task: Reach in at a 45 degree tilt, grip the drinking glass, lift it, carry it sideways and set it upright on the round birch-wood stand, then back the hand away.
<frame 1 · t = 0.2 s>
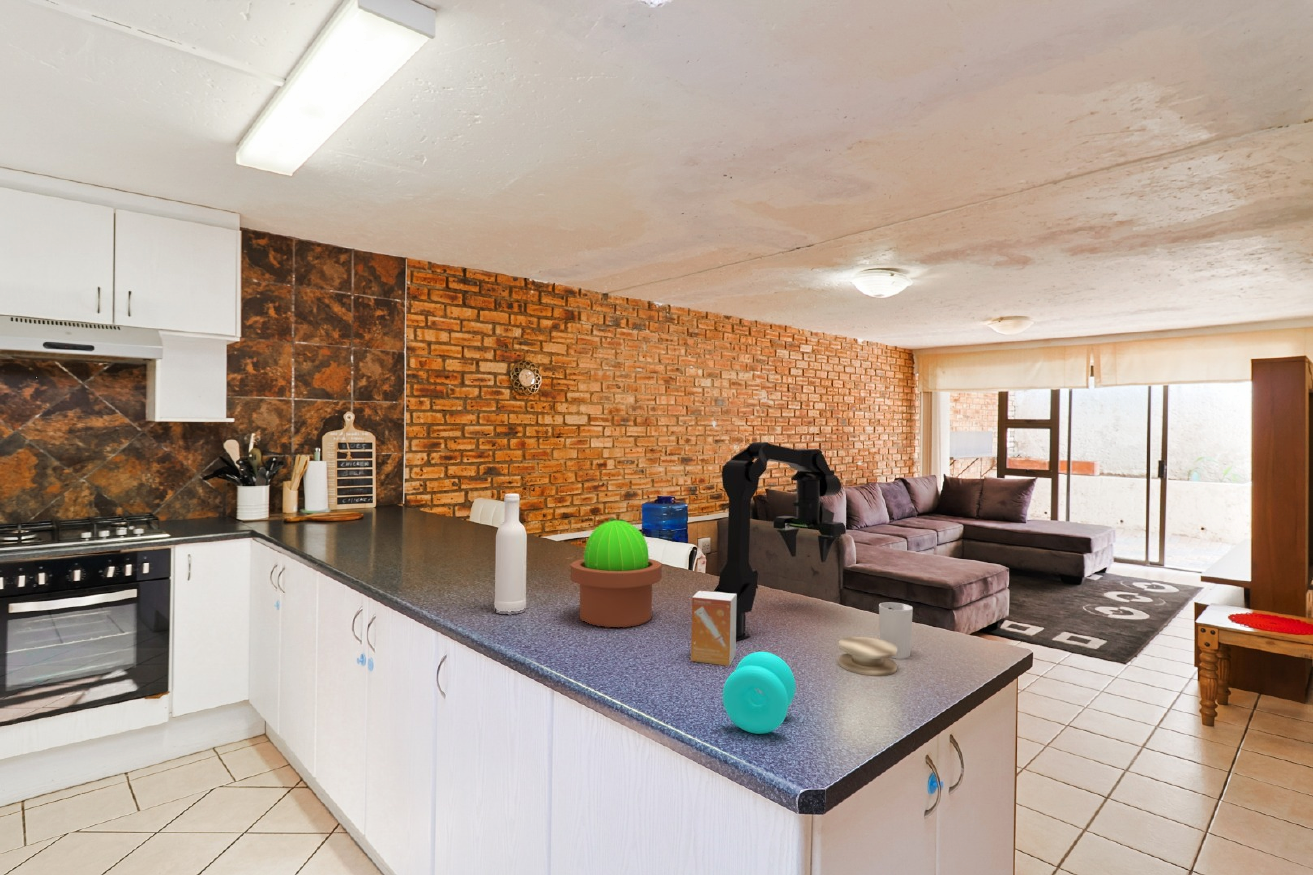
hand: (808, 559, 163), 14 cm above the worktop, tool pointing down, fingers open, 9 cm apart
potted cactus: (615, 619, 159), on the worktop
turquoise yoyo: (759, 724, 100), on the worktop
bottle: (510, 612, 164), on the worktop
small box: (713, 660, 130), on the worktop
birch stand: (867, 665, 127), on the worktop
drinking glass: (895, 655, 134), on the worktop
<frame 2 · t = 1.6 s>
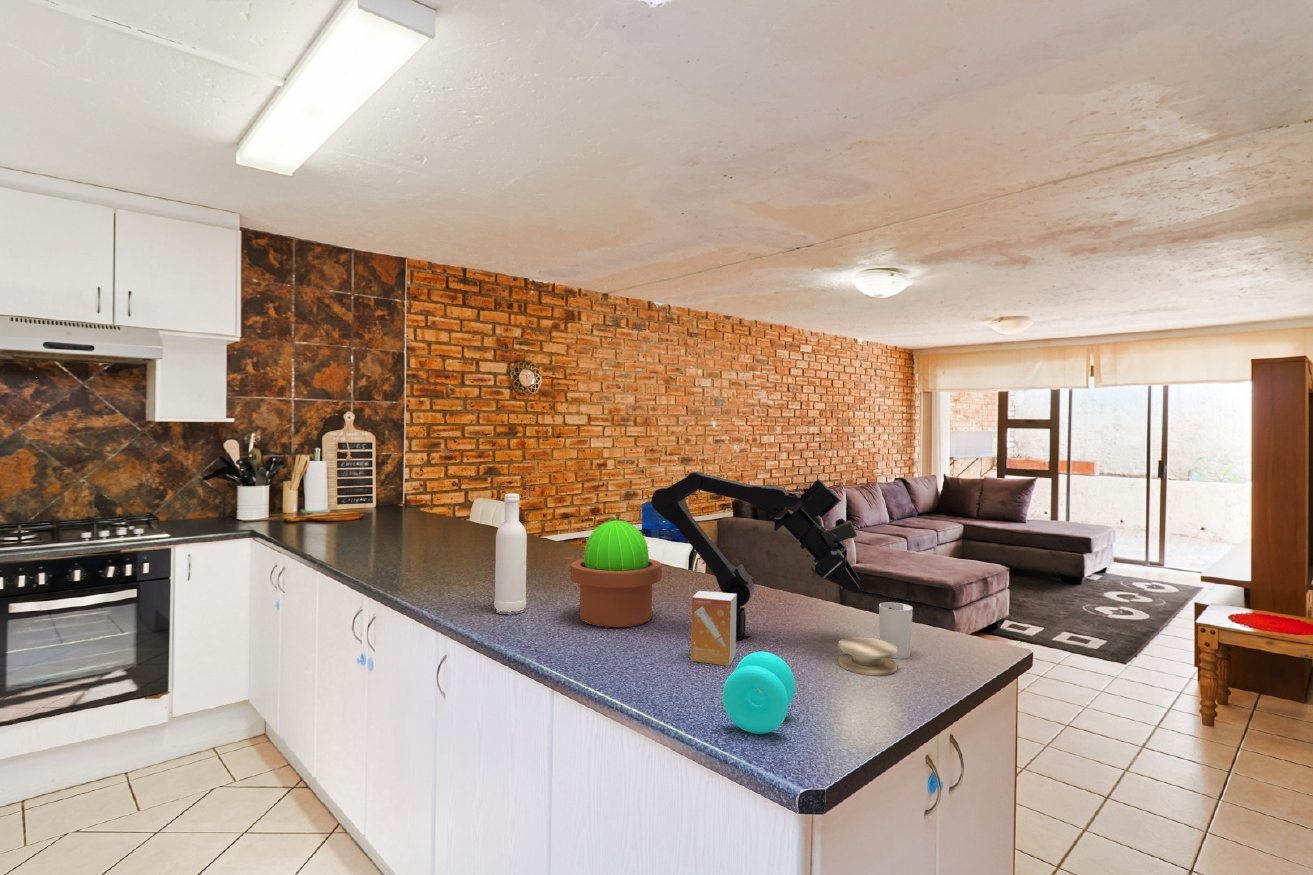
hand: (859, 586, 137), 13 cm above the worktop, tool tilted 45°, fingers open, 9 cm apart
nothing on the worktop moved.
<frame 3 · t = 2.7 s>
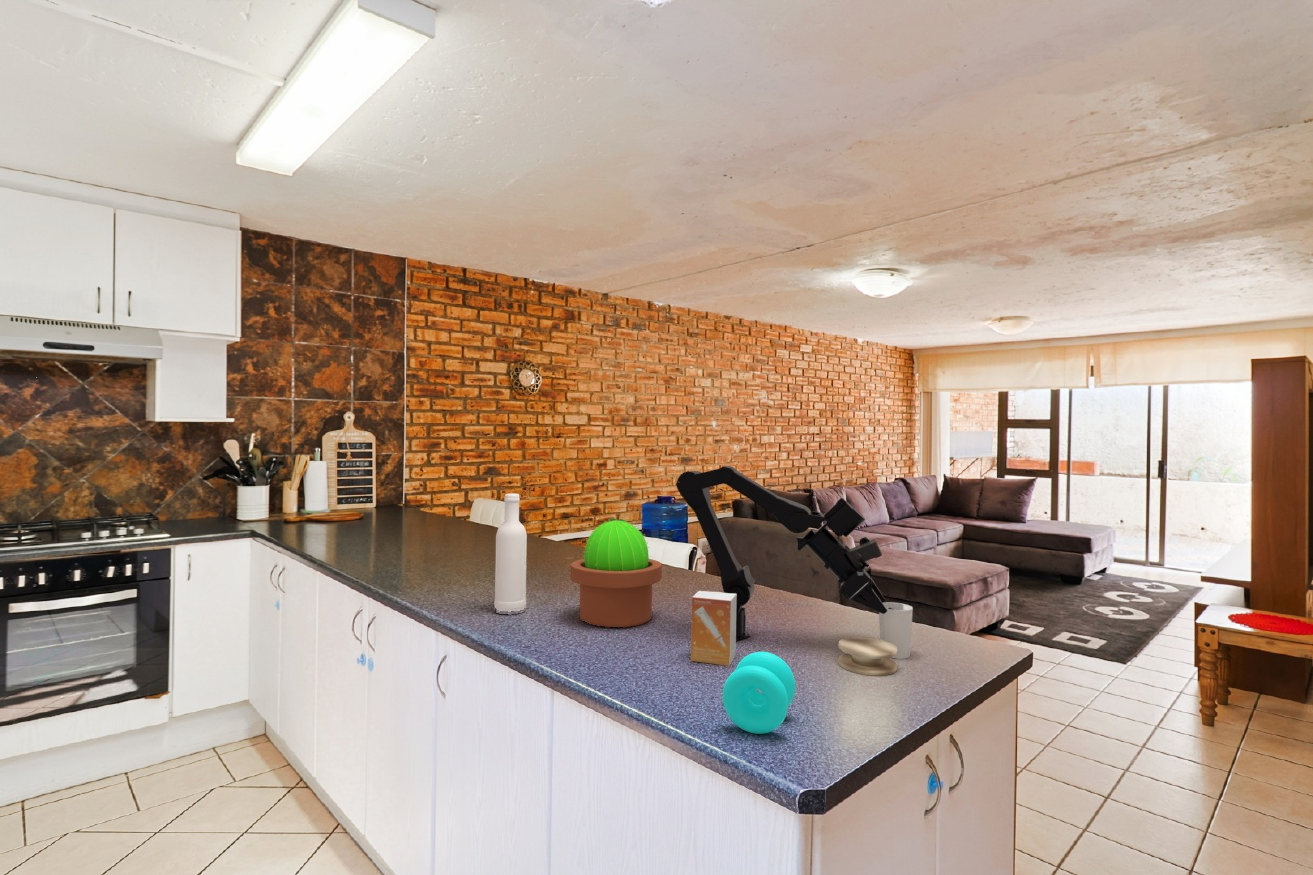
hand: (884, 606, 135), 10 cm above the worktop, tool tilted 45°, fingers open, 9 cm apart
nothing on the worktop moved.
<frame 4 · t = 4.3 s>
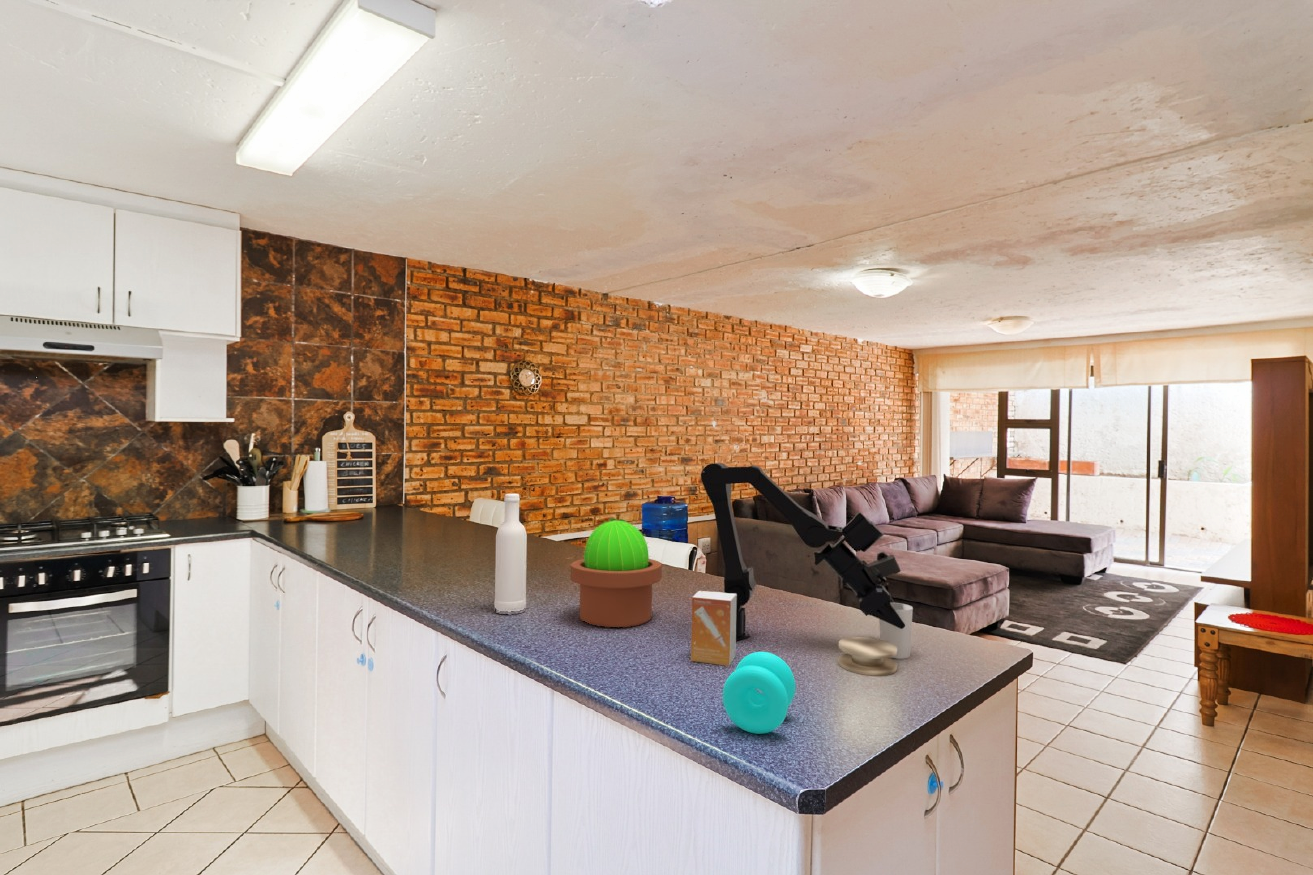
hand: (902, 623, 134), 7 cm above the worktop, tool tilted 45°, fingers closed on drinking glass, 6 cm apart
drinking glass: (895, 654, 134), on the worktop, touching gripper
everything else where it was.
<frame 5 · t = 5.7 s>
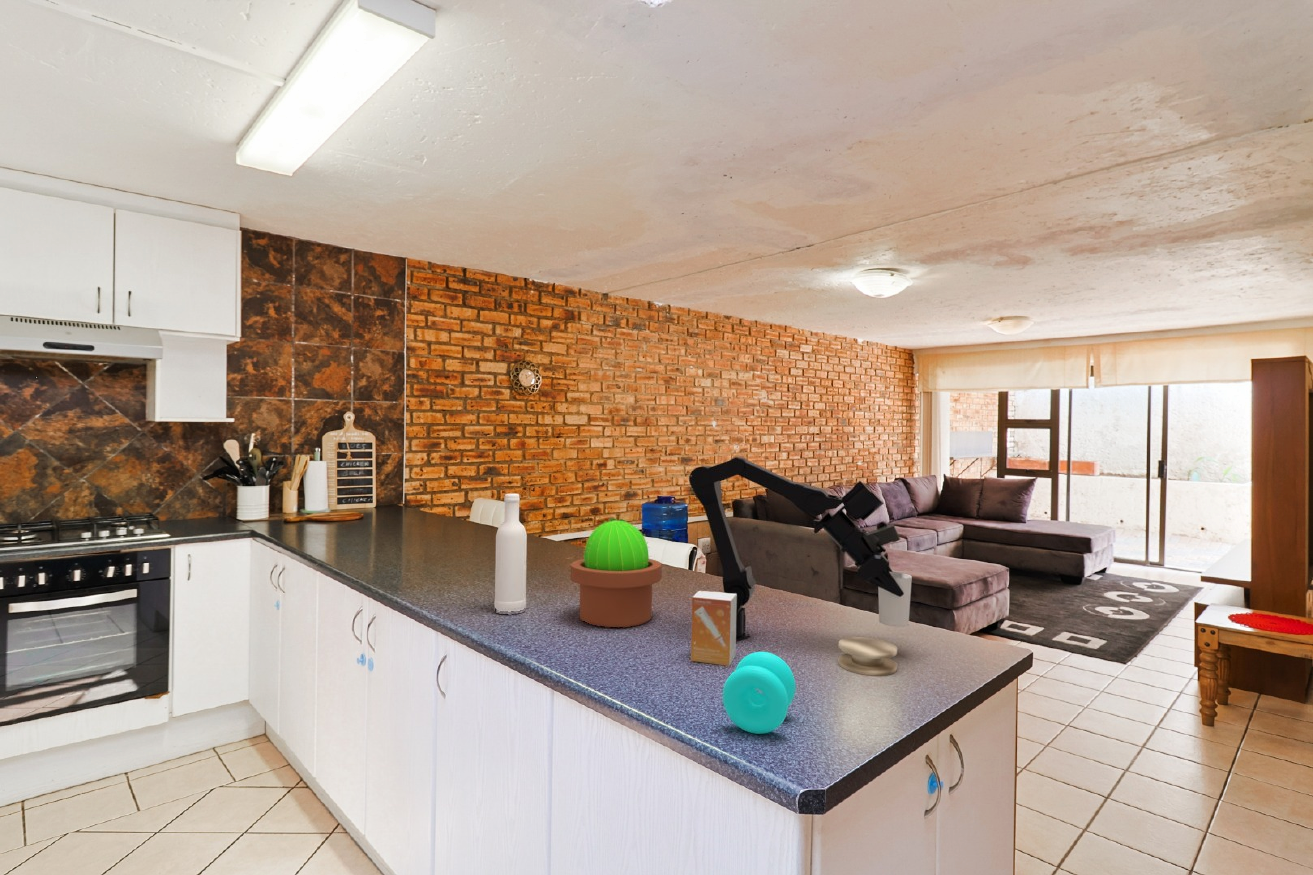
hand: (901, 591, 134), 13 cm above the worktop, tool tilted 45°, fingers closed on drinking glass, 6 cm apart
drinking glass: (893, 623, 134), point 6 cm above the worktop, touching gripper
everything else where it was.
when the fingers open (12 cm above the worktop, at t = 7.4 s): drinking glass drops 1 cm, resting on birch stand.
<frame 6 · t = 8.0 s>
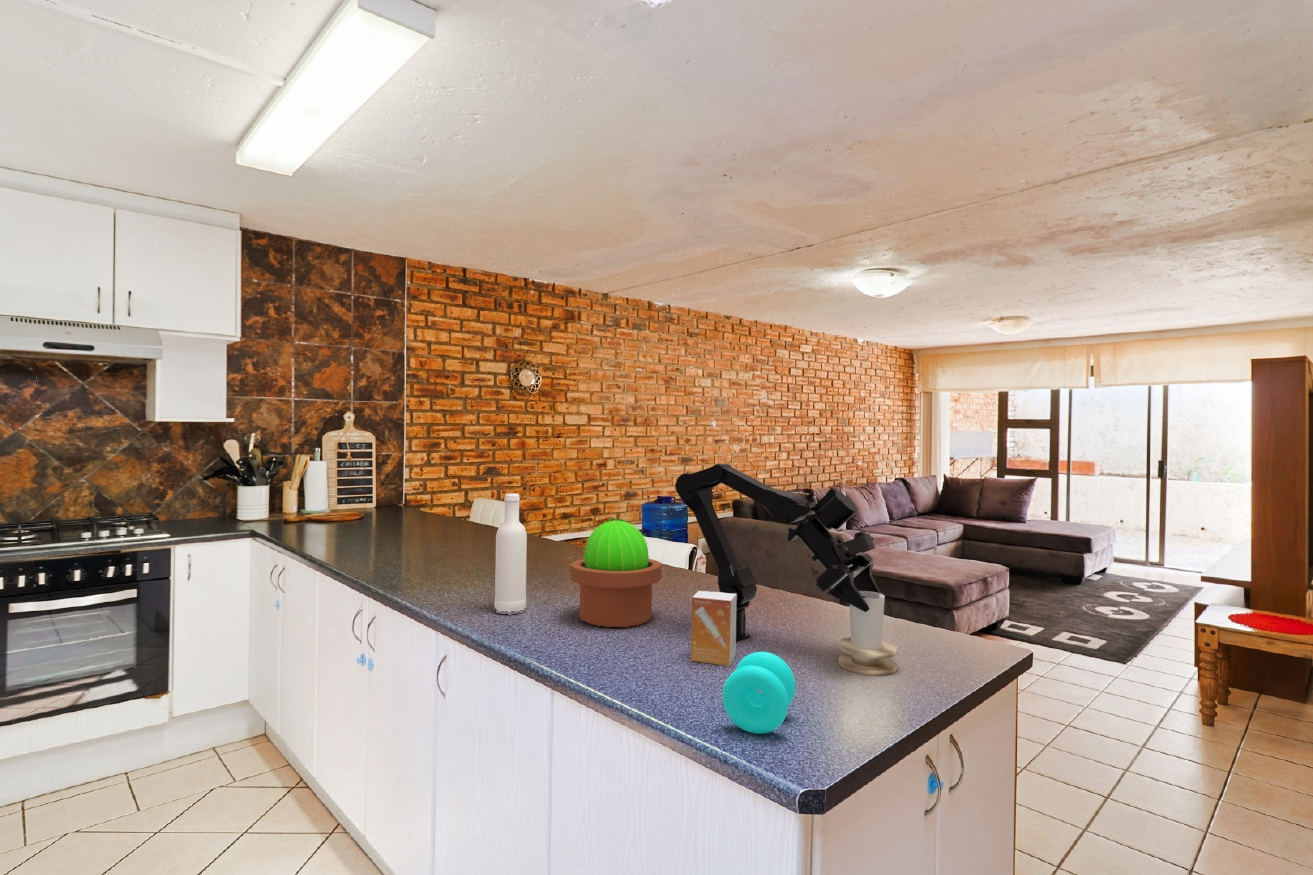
hand: (875, 605, 126), 12 cm above the worktop, tool tilted 45°, fingers open, 9 cm apart
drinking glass: (866, 646, 127), point 4 cm above the worktop, touching birch stand
everything else where it was.
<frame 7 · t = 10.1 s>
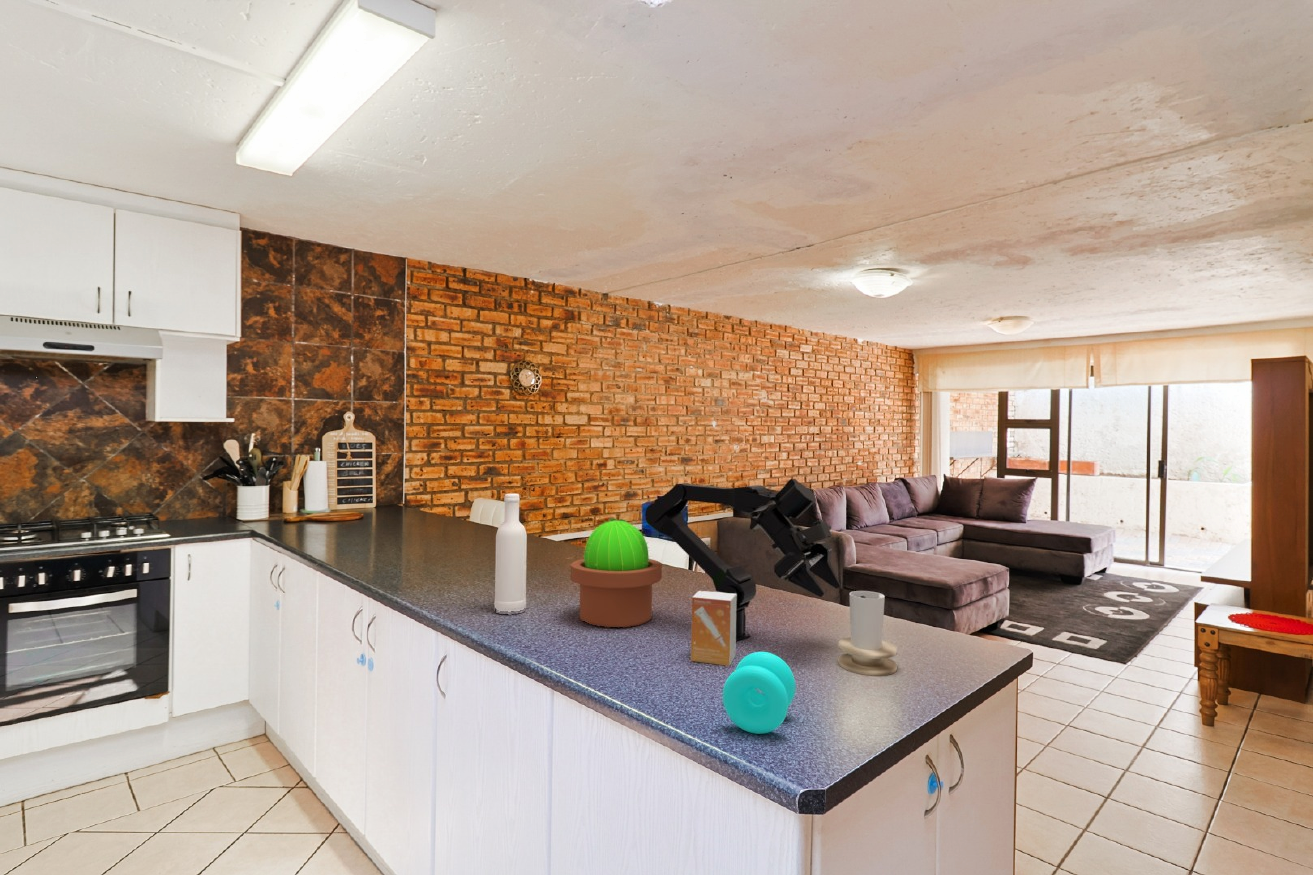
hand: (831, 591, 132), 14 cm above the worktop, tool tilted 45°, fingers open, 9 cm apart
nothing on the worktop moved.
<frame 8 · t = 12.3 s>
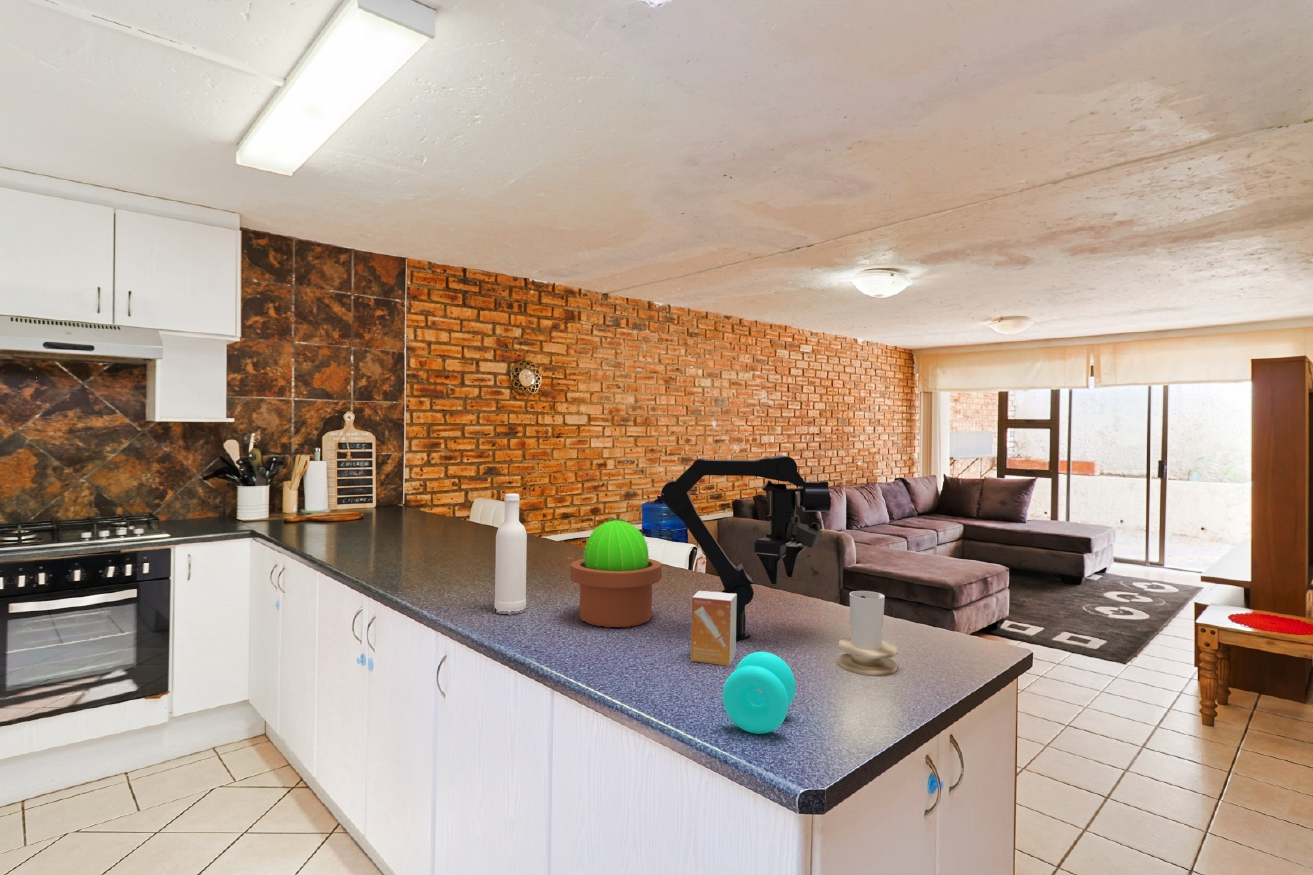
hand: (782, 580, 144), 13 cm above the worktop, tool pointing down, fingers open, 9 cm apart
nothing on the worktop moved.
at the end: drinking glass 0.2 cm off-centre on the birch stand, point 3.8 cm above the birch stand's base; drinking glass tilted 0°; the gripper is holding nothing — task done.
